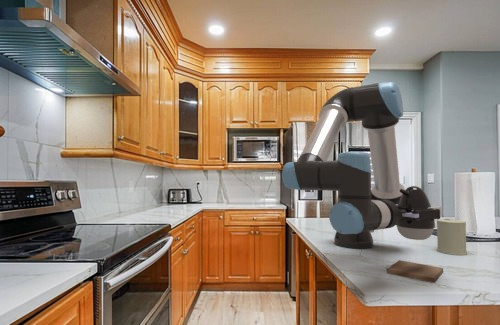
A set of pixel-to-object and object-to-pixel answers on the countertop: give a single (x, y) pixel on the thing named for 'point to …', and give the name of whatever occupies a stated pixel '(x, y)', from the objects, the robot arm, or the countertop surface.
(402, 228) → the pump dispenser
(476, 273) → the countertop surface
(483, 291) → the countertop surface
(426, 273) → the walnut board
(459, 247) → the can
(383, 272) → the countertop surface
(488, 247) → the countertop surface
